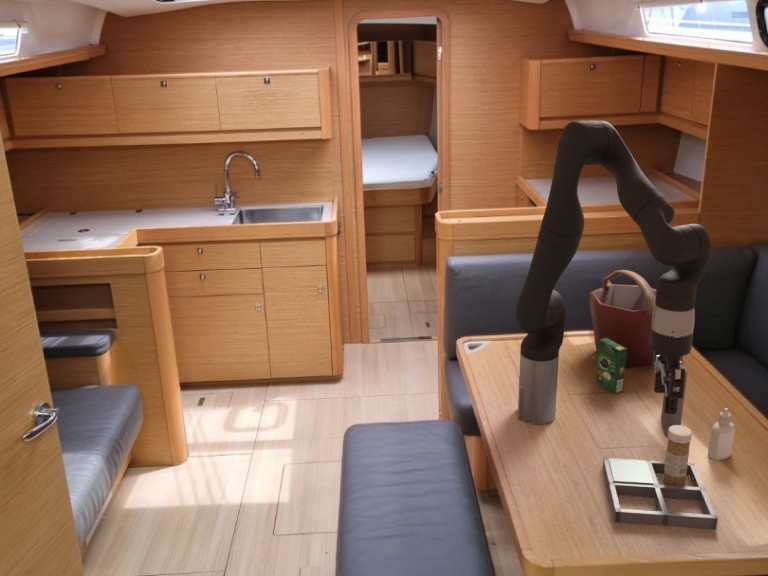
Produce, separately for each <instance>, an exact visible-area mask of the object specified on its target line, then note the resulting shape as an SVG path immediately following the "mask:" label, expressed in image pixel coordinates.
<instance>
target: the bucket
mask: <svg viewBox="0 0 768 576" xmlns="http://www.w3.org/2000/svg"><path fill="white" fill-rule="evenodd" d="M621 275H624V276H627V277H629V278H630V279H632V280H633V281H634V282H635V283H636V284H637V285H636V284H633V285H632V284H619V283H618V284H616V283H612V282H611V281H610V280H615V279H616V278H619V277H620V276H621ZM601 285H602V287H600V288H597V289H594V290H591V291H590V292H589V308H590V316H591V322H592V328H593V330H592V331H593V336H594V337H593V338H594V344H595V351H596V352H597V353H596V354H598V351H599V340H600V339H604V338H608V339H610V340H612V341H613V342H615V343H617V344H619V345H621V346H623V347H625V348H627V356H626V364H625V369H626V370H627V369H634V368H635V369H636V368H644V367H645V368H646V367H653V366H652V364H653V356H654V351H653V350H652V349H651V348H650V338H651V327H652V316H653V311H654V307H655V300H656V288H653V287H651V286H650V284H649V283H648V282H647V280H646V279H645V278H644V277H643V276H641V275H640V274H638V273H636V272H634V271H632V270H627V269H622V270H614V271H613V272H612V273H610V274H608V275H606V276H605V277H604V278H602V280H601Z"/></svg>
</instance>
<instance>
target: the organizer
mask: <svg viewBox="0 0 768 576" xmlns="http://www.w3.org/2000/svg"><path fill="white" fill-rule="evenodd" d="M602 459H603V460H602V471H603V474H604V475H603V476H604V481H605V484H606V489H607V494H608V497H609V501H610V506H611V511H612V516H613V521H614V523H621V524H624V523H625V524H637V525H650V526H651V525H653V526H664V527H665V526H667V527H681V528H694V529H695V528H696V529H709V530H716V529H717V527H718V526H717V525H718V519H719V518H718V516H717V512H716V511H715V509H714V507H713V504H712V502H711V499H710V497H709V495H708V492H707V490H706V488H705V486H704V484H703V480H702V478H701V476H700V475H699V474H700V473H699V471H698V470H697V467H696V465H695V462H688V465H687V473H686V476H689V479H690V482H691V484H692V486H686V485H685V486H671V485H664V484H659V481H658V478H657V476H656V474H663V475H664V467H665V460H650V459H648V460H647V459H633V458H631V459H629V458H616V457H615V458H613V457H603V458H602ZM618 496H627V497H640V498H642V497H643V498H653V501H654V503H655V506H656V510H644V509H629V508H627V509H626V508H621V506H620V502H619V498H618ZM665 499H671V500H672V499H673V500H686V501H687V500H688V501H689V500H691V501H699V504H700V507H701V509H702V510H703V513H692V512H691V513H690V512H689V513H687V512H673V511H668V509H667V508H668V507H667V505H666V502H665Z"/></svg>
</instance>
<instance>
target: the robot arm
mask: <svg viewBox="0 0 768 576" xmlns="http://www.w3.org/2000/svg"><path fill="white" fill-rule="evenodd" d="M596 165H600V166H602V167H603V168H604V169H606V170H607V171H608V172H609V173H610V174H611V175H612V177H613V178H614V180H615V182H616V192H617V197H618V200H619V203H620V205H621V207H622V209H624V211H625V212H626V214H627V215H628V216H629V217H630V218H631V219H632V220H633V221H634V223H635V224H636V225H637V226H638V227H639V229H640V231H641V233H642V236H643V239H644V241H645V243H646V246H647V248H648V251H649V252H650V255H651V256H652V257H653V258H654V259H655V260H656V261H657V262H659V263H660V264H661V265H663V266H664V265H665V266H667V267H670V266H672V268H671V269H670V270H669V271H667V272H665V273H663V274H662V275H661V276H659V278H658V280H657V281H656V288H655V289H656V300H655V307H654V311H653V316H652V327H651V338H650V348H651V349H652V350H653V351H654V356H653V363H652V366H651V367H652V368H653V369H654V370H653V373H654V375H655V376H654V384H653V391H654V392H655V393H656V394H664V393H665V403H664V412H665V413H666V414H675V413H676V412H677V403H678V398H679V399H682V398H683V391H684V380H685V369H682V362H681V361H680V358H681V357H682V356H683V357H684V356H687V355H689V354H690V353H691V352H692V347H693V337H694V330H695V329H694V328H695V321H696V320H695V318H696V317H695V313H696V312H695V307H696V298H697V290H698V289H697V288H698V285H699V282H700V281H701V278H702V276H703V274H704V271H705V268H706V266H707V263H708V261H709V259H710V258H709V257H710V254H711V250H712V242H711V237H710V235H709V232H708V230H707V229H706V228H705V227H704V226H703V225H701V224H699V223H688V224H683V225H676V226H671V225H670V224H671V223H672V221H673V220H674V217H675V208H674V206H672V204H671V203H670V202H669V201H668V200H667V198H666V197H665V195H663V194H662V193H661V192H660V191H659V189H658V188H656V186H655V185H654V184H653V183H652V182H651V181H650V180H649V178H648V177H647V176H646V175H645V174H644V172H643V170H642V169H641V167H640V166H639V164H638V163H637V161H636V160H635V158H634V156H633V154H632V153H631V151H630V150H629V149H628V146H627V145H626V144H625V141H624V140H623V138H622V137H621V135H620V133H619V132H618V131H617V129H616V128H615V127H614V126H613V125H612V124H611V123H610V122H608V121H605V120H599V119H598V120H597V119H596V120H574V121H570V122H568V123H567V124H566V125H565V126H564V128H563V129H562V131H561V133H560V136H559V139H558V144H557V149H556V154H555V161H554V166H553V167H554V169H553V174H552V180H551V185H550V189H549V193H548V199H547V202H546V205H545V209H544V214H543V217H542V219H541V224H540V227H539V232H538V235H537V239H536V243H535V248H534V251H533V253H532V254H533V255H532V259H531V262H530V266H529V269H528V273H527V276H526V278H525V281H524V283H523V285H522V288H521V292H520V294H519V296H518V298H517V301H516V305H515V310H514V313H515V320H516V323H517V325H518V327H519V328H520V329H521V330H522V331H523V332H525V333H527V334H526V335H525V337H524V338H523V339H522V340H521V343H520V348H519V349H520V351H519V352H520V353H519V354H520V355H519V357H520V358H519V376H518V395H517V396H518V398H517V416H518V417H517V420H518V421H522V422H523V421H524V422H525V423H529V424H532V425H533V424H534V425H545V424H550V423H551V422H553V421H554V420H555V418H556V413H557V412H556V411H557V391H558V390H557V389H558V374H559V361H560V355H559V354H560V349H561V347H562V345H563V342H564V335H565V334H564V333H565V329H566V328H565V325H566V316H567V315H566V314H567V310H566V304H565V301H564V299H563V297H562V295H561V294H560V292H558V291H556V290H555V286H556V285H557V283H558V281H559V280H560V278H561V276H562V275H563V274H564V272H565V270H566V269H567V268H568V266H570V263H571V262H572V260H573V259H574V257H575V255H576V254H577V251H578V249H579V245H580V242H581V240H582V239H581V238H582V235H583V232H584V228H585V217H584V212H583V208H582V205H581V202H580V199H579V195H578V187H579V181H580V177H581V174H582V171H583V168H584V166H596ZM667 378H669V380H667ZM674 387H675V388H676V391H673V388H674Z"/></svg>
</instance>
